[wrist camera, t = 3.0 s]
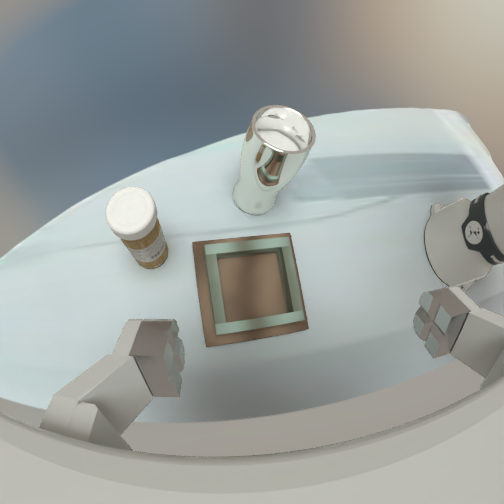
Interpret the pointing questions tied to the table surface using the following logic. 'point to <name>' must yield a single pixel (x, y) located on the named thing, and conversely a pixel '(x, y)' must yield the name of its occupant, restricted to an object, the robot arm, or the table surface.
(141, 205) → the sprinkles bottle
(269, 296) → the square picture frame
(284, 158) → the beer glass
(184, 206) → the table surface
